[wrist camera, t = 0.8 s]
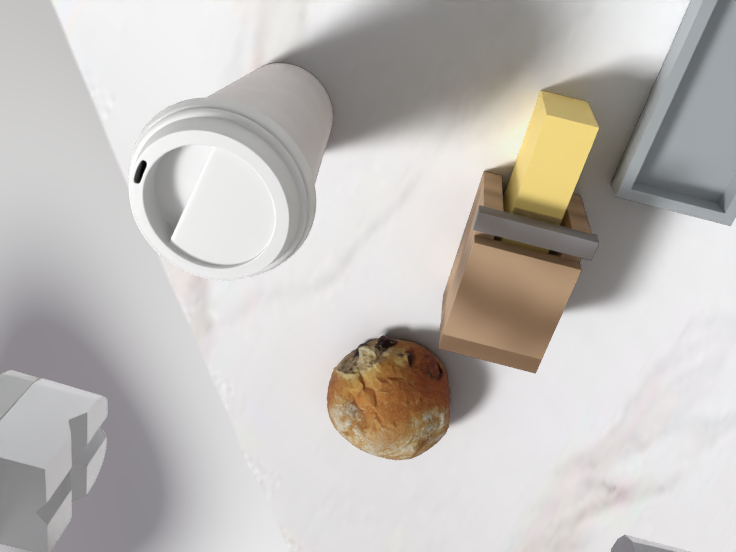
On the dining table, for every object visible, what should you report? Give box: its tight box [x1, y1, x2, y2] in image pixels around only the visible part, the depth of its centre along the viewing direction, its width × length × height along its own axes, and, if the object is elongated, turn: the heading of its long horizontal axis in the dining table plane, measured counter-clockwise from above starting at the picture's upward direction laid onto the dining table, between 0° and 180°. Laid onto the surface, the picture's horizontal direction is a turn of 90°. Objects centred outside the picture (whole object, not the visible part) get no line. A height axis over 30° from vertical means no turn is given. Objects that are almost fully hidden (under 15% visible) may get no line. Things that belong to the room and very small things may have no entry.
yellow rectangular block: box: [494, 90, 599, 254], centre depth 43 cm, size 10×3×5 cm, turn 168°
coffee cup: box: [128, 63, 333, 280], centre depth 39 cm, size 10×10×15 cm
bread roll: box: [327, 336, 450, 460], centre depth 55 cm, size 10×10×8 cm
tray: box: [611, 0, 736, 226], centre depth 40 cm, size 14×7×2 cm, turn 168°
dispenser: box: [438, 171, 599, 373], centre depth 46 cm, size 10×7×6 cm
